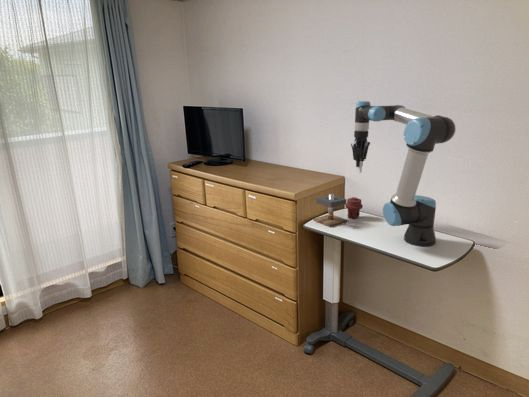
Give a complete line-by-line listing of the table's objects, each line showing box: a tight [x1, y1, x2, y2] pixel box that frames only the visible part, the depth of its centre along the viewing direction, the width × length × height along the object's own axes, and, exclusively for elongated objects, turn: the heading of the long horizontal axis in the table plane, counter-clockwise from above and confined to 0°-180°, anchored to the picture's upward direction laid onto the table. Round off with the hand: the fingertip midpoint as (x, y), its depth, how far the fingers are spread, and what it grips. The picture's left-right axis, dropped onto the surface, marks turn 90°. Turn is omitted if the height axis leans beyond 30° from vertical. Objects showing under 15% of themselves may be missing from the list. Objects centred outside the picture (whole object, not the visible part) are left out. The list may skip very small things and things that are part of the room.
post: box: [327, 193, 335, 220], centre depth 234 cm, size 3×3×15 cm
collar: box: [315, 195, 347, 208], centre depth 233 cm, size 12×12×3 cm
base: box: [313, 214, 349, 228], centre depth 236 cm, size 14×14×2 cm
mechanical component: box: [344, 196, 363, 220], centre depth 241 cm, size 12×10×10 cm
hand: (358, 172), depth 228 cm, fingers closed
